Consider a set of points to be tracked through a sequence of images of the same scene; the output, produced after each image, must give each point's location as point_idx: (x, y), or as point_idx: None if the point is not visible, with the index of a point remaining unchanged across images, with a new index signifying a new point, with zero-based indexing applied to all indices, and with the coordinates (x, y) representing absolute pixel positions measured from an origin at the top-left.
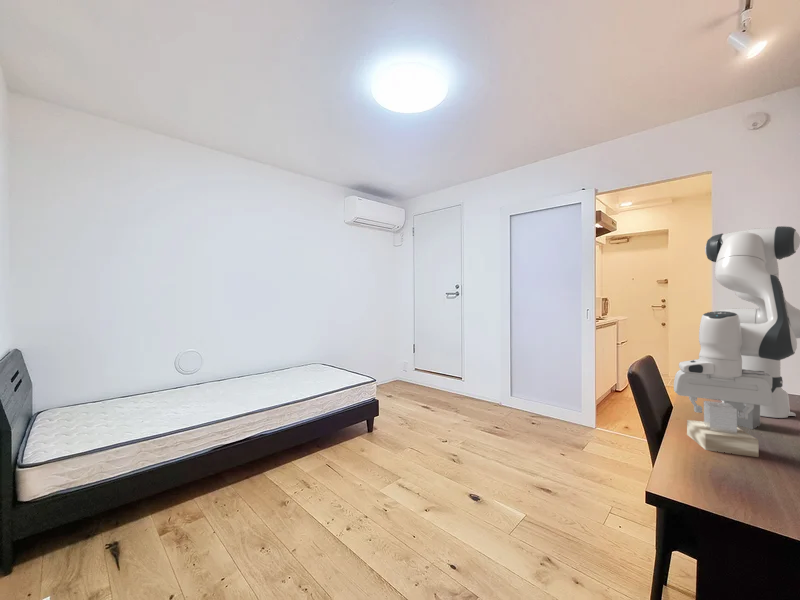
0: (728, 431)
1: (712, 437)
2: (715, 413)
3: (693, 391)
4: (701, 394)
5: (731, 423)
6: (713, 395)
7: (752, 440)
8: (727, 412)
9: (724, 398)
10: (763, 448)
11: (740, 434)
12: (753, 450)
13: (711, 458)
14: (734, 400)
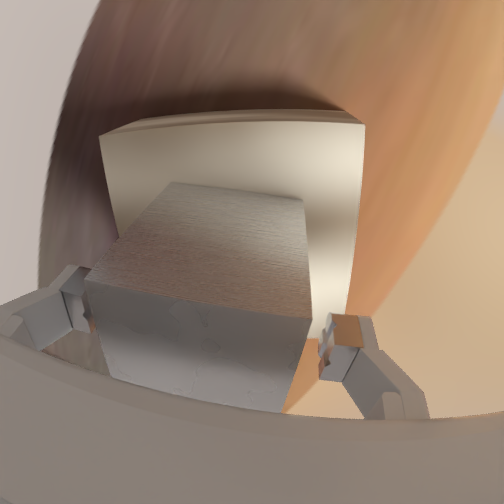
0: (208, 188)
1: (324, 118)
2: (266, 262)
3: (449, 473)
4: (375, 455)
5: (175, 211)
6: (244, 453)
7: (125, 130)
8: (168, 264)
9: (134, 405)
10: (99, 234)
11: (153, 191)
12: (146, 120)
13: (364, 10)
14: (58, 370)
